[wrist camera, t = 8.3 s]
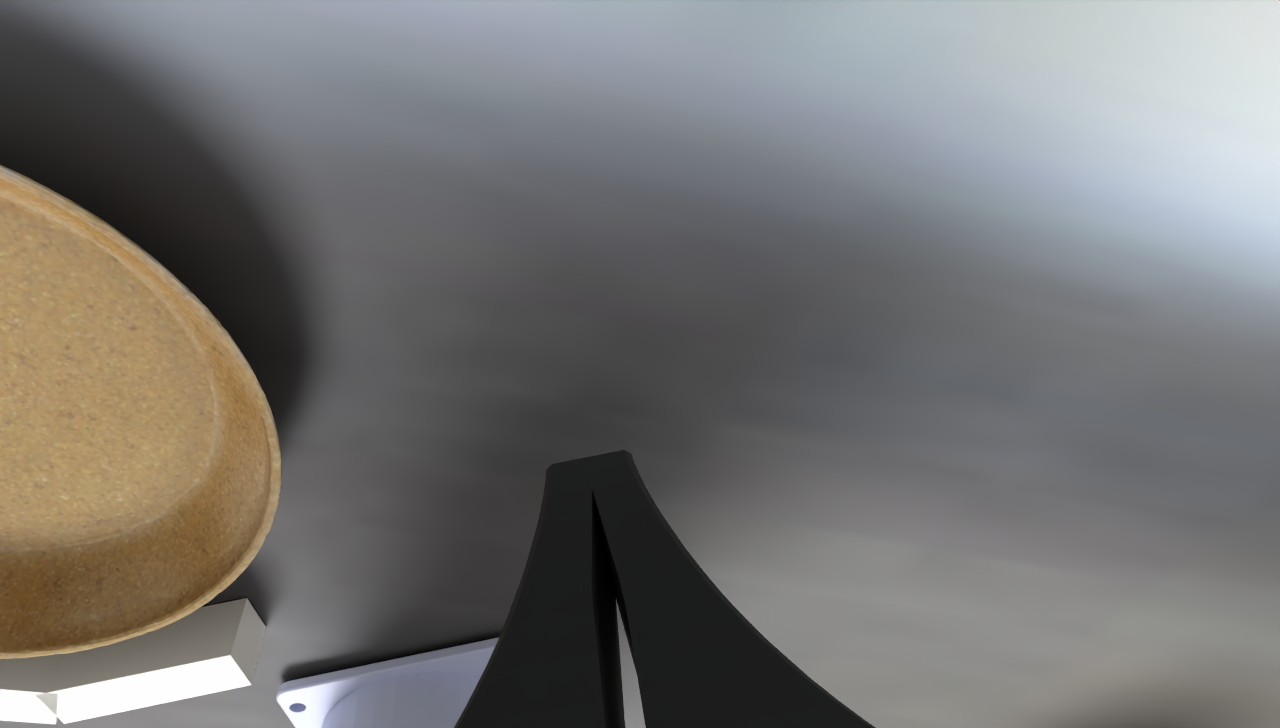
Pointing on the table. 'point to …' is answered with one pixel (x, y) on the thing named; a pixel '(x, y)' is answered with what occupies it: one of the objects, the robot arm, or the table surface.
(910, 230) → the table surface
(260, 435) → the plant saucer
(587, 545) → the robot arm
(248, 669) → the centring cradle
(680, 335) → the table surface
